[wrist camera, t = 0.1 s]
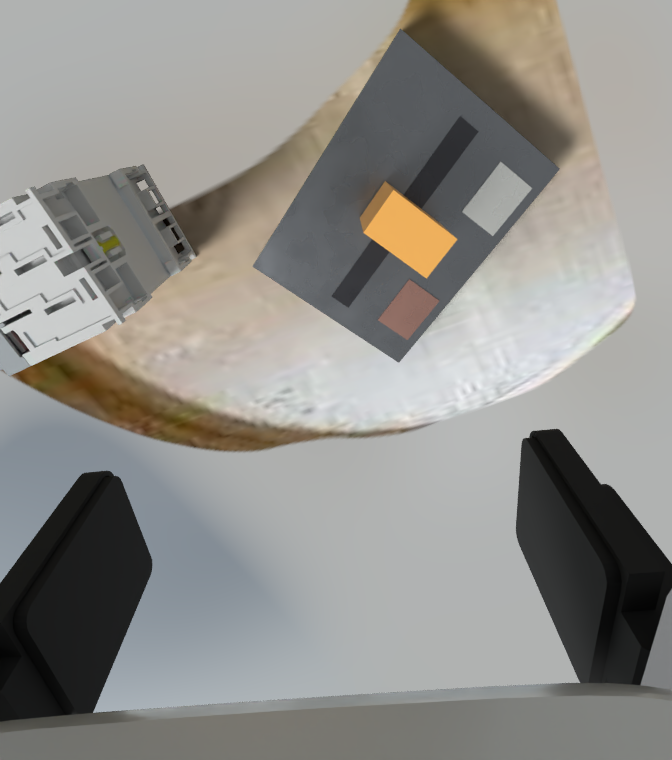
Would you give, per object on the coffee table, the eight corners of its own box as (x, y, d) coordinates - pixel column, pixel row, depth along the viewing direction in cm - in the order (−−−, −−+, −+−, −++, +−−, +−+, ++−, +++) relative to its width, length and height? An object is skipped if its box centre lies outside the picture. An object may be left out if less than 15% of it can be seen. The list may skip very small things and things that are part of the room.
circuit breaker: (-6, 244, 39) (-181, 303, 26) (143, 164, 37) (33, 185, 23) (54, 324, 43) (-74, 414, 29) (196, 256, 40) (126, 321, 27)
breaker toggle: (385, 180, 34) (393, 189, 29) (440, 223, 35) (457, 239, 30) (359, 217, 35) (363, 232, 30) (414, 258, 37) (426, 278, 32)
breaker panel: (395, 36, 33) (400, 28, 30) (543, 165, 37) (560, 169, 34) (258, 257, 40) (252, 266, 37) (395, 348, 44) (399, 363, 41)
